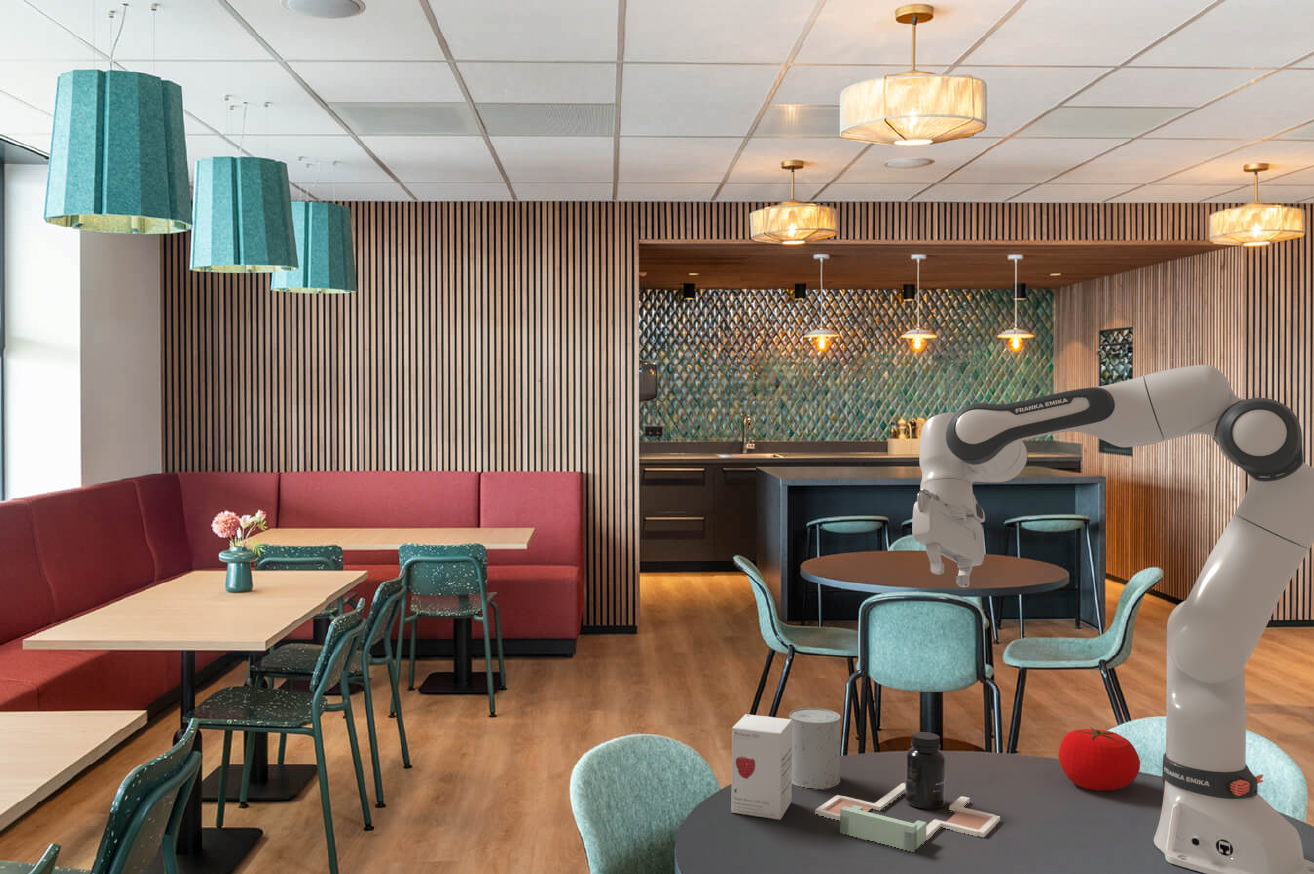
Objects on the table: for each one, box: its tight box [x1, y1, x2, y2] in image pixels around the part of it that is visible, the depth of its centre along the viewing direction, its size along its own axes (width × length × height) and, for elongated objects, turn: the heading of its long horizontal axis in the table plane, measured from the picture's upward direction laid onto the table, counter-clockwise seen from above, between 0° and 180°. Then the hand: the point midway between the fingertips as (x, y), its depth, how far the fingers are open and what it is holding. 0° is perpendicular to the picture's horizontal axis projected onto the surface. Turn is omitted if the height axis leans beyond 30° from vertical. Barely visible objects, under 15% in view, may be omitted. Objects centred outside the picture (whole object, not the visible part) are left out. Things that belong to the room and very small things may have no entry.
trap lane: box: [814, 782, 1001, 853], centre depth 171 cm, size 26×26×4 cm
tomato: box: [1058, 727, 1141, 792], centre depth 186 cm, size 14×13×10 cm
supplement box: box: [730, 713, 793, 821], centre depth 175 cm, size 9×9×15 cm
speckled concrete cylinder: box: [788, 707, 842, 790], centre depth 189 cm, size 10×10×12 cm
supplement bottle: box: [904, 731, 946, 810], centre depth 178 cm, size 7×7×12 cm
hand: (950, 579), depth 171 cm, fingers open, 8 cm apart
